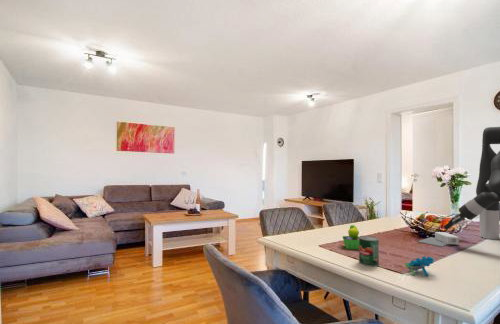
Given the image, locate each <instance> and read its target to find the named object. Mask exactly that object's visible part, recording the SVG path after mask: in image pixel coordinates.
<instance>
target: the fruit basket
mask: <svg viewBox="0 0 500 324" xmlns="http://www.w3.org/2000/svg"><path fill="white" fill-rule="evenodd" d="M359 233H360V231H359V229H358V227H357V226H355V224H352V225H350V226H349V229H348V233H347V234H348V235H343V236H341V237H342V239H343V243H344V246H345V249H346V250H347V249H348V250H358V251H359V237H360V236H359V235H360V234H359Z"/></svg>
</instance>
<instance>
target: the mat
mask: <svg viewBox="0 0 500 324" xmlns="http://www.w3.org/2000/svg"><path fill="white" fill-rule="evenodd" d="M417 243H421V244H426V245H431V246H434V247H435V246H436V247H438V248H439V247H440V248H442V247H445V246H448V245H449V244H446V243H444V242H441V241H439V240H437V239H435V237H433V236H430V237H426V238H424V239H420V240H417Z"/></svg>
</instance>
